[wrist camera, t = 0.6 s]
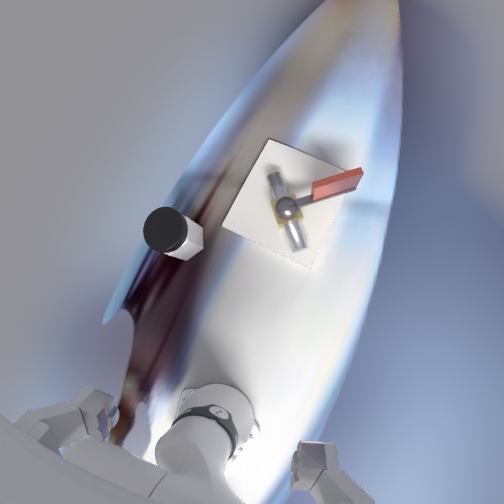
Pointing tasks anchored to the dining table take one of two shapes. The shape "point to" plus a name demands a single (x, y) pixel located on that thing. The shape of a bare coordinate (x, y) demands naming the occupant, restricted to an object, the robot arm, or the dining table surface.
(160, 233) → the jar
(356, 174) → the lever
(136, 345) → the dining table surface
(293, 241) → the valve body
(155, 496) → the robot arm
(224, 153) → the dining table surface
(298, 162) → the mounting plate
